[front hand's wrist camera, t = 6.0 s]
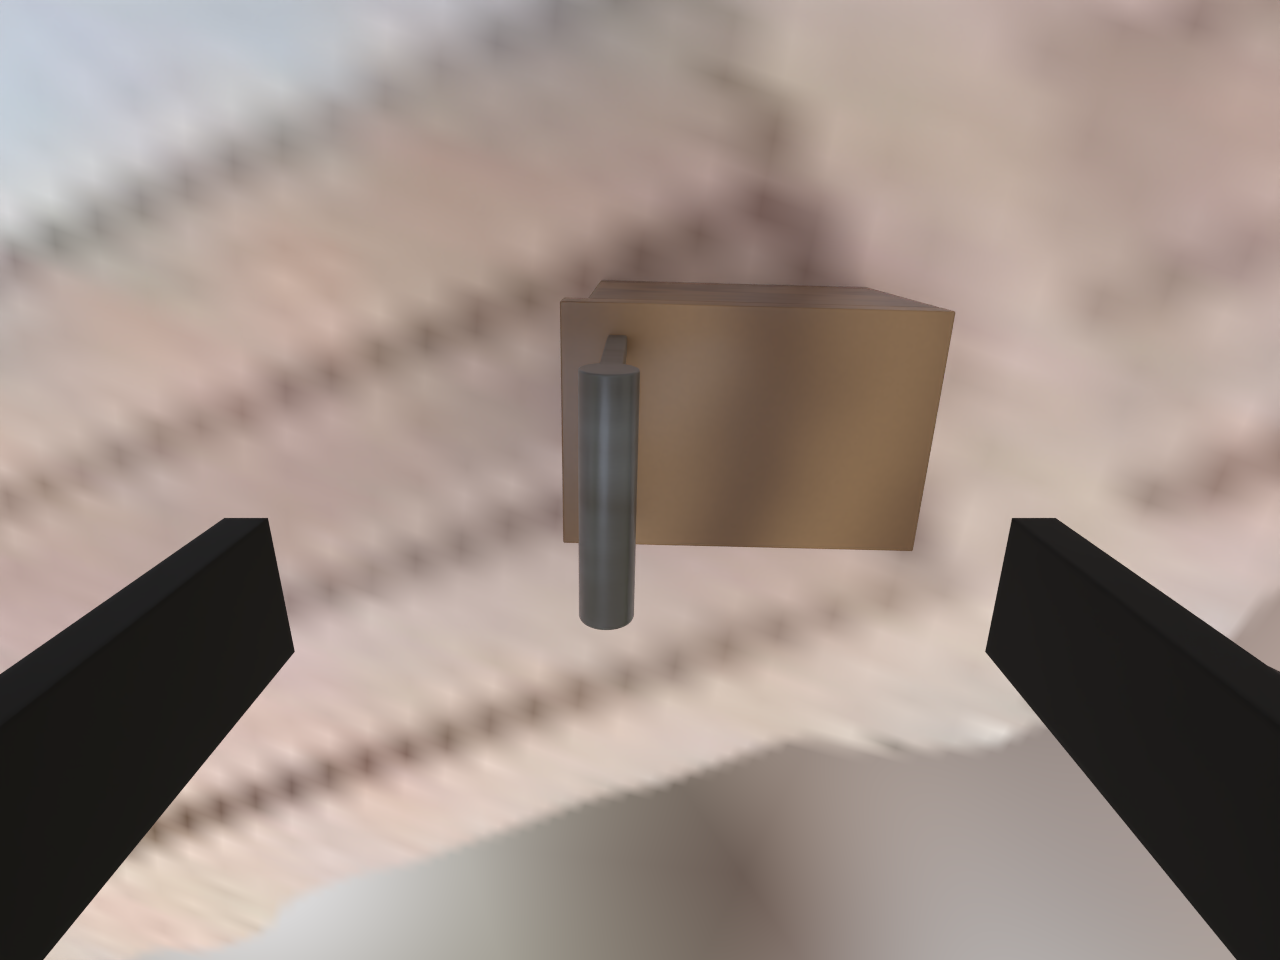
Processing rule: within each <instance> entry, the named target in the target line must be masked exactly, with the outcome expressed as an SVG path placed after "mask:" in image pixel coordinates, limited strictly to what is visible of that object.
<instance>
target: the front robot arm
mask: <svg viewBox="0 0 1280 960" xmlns="http://www.w3.org/2000/svg"><path fill="white" fill-rule="evenodd" d="M294 652H295V651H294V646H293V641H292V636H291V631H290V626H289V621H288V616H287V611H286V606H285V601H284V596H283V591H282V586H281V581H280V576H279V571H278V566H277V561H276V556H275V552H274V547H273V542H272V537H271V532H270V527H269V522H268V518H224V519H222V520H221V521H220V522H218V523H217V524H215V525H214V526H212V527H211V528H209V529H208V530H207V531H205V532H204V533H202V534H201V535H199V536H198V537H197V538H195V539H194V540H192V541H191V542H189V543H188V544H187V545H185V546H184V547H182V548H181V549H179V550H178V551H176V552H175V553H174V554H172V555H171V556H169V557H168V558H166V559H165V560H164V561H162V562H161V563H159V564H158V565H156V566H155V567H154V568H152V569H151V570H149V571H148V572H146V573H145V574H144V575H142V576H141V577H139V578H138V579H136V580H135V581H133V582H132V583H131V584H129V585H128V586H126V587H125V588H123V589H122V590H121V591H119V592H118V593H116V594H115V595H113V596H112V597H111V598H109V599H108V600H106V601H105V602H103V603H102V604H100V605H99V606H98V607H96V608H95V609H93V610H92V611H90V612H89V613H88V614H86V615H85V616H83V617H82V618H80V619H79V620H78V621H76V622H75V623H73V624H72V625H70V626H69V627H67V628H66V629H65V630H63V631H62V632H60V633H59V634H57V635H56V636H55V637H53V638H52V639H50V640H49V641H47V642H46V643H45V644H43V645H42V646H40V647H39V648H37V649H36V650H34V651H33V652H32V653H30V654H29V655H27V656H26V657H24V658H23V659H22V660H20V661H19V662H17V663H16V664H14V665H13V666H12V667H10V668H9V669H7V670H6V671H4V672H3V673H1V674H0V960H43V959H44V958H45V957H46V956H47V955H48V953H49V952H50V951H51V950H52V948H53V947H54V946H55V945H56V944H57V942H58V941H59V940H60V939H61V937H62V936H63V935H64V934H65V933H66V931H67V930H68V929H69V928H70V926H71V925H72V924H73V923H74V921H75V920H76V919H77V918H78V917H79V915H80V914H81V913H82V912H83V910H84V909H85V908H86V907H87V906H88V904H89V903H90V902H91V901H92V899H93V898H94V897H95V896H96V895H97V893H98V892H99V891H100V890H101V888H102V887H103V886H104V885H105V883H106V882H107V881H108V880H109V879H110V877H111V876H112V875H113V874H114V872H115V871H116V870H117V869H118V868H119V866H120V865H121V864H122V863H123V861H124V860H125V859H126V858H127V857H128V855H129V854H130V853H131V852H132V850H133V849H134V848H135V847H136V845H137V844H138V843H139V842H140V841H141V839H142V838H143V837H144V836H145V834H146V833H147V832H148V831H149V830H150V828H151V827H152V826H153V825H154V823H155V822H156V821H157V820H158V819H159V817H160V816H161V815H162V814H163V812H164V811H165V810H166V809H167V808H168V806H169V805H170V804H171V803H172V801H173V800H174V799H175V798H176V796H177V795H178V794H179V793H180V792H181V790H182V789H183V788H184V787H185V785H186V784H187V783H188V782H189V781H190V779H191V778H192V777H193V776H194V774H195V773H196V772H197V771H198V770H199V768H200V767H201V766H202V765H203V763H204V762H205V761H206V760H207V758H208V757H209V756H210V755H211V754H212V752H213V751H214V750H215V749H216V747H217V746H218V745H219V744H220V743H221V741H222V740H223V739H224V738H225V736H226V735H227V734H228V733H229V732H230V730H231V729H232V728H233V727H234V725H235V724H236V723H237V722H238V720H239V719H240V718H241V717H242V716H243V714H244V713H245V712H246V711H247V709H248V708H249V707H250V706H251V705H252V703H253V702H254V701H255V700H256V698H257V697H258V696H259V695H260V694H261V692H262V691H263V690H264V689H265V687H266V686H267V685H268V684H269V682H270V681H271V680H272V679H273V678H274V676H275V675H276V674H277V673H278V671H279V670H280V669H281V668H282V667H283V665H284V664H285V663H286V662H287V660H288V659H289V658H290V657H291V656H292V654H293V653H294ZM985 652H986V653H987V654H988V656H989V657H990V658H991V659H992V660H993V662H994V663H995V664H996V665H997V667H998V668H999V669H1000V670H1001V671H1002V673H1003V674H1004V675H1005V676H1006V678H1007V679H1008V680H1009V681H1010V682H1011V684H1012V685H1013V686H1014V687H1015V689H1016V690H1017V691H1018V692H1019V694H1020V695H1021V696H1022V697H1023V698H1024V700H1025V701H1026V702H1027V703H1028V705H1029V706H1030V707H1031V708H1032V709H1033V711H1034V712H1035V713H1036V714H1037V716H1038V717H1039V718H1040V719H1041V720H1042V722H1043V723H1044V724H1045V725H1046V727H1047V728H1048V729H1049V730H1050V732H1051V733H1052V734H1053V735H1054V736H1055V738H1056V739H1057V740H1058V741H1059V743H1060V744H1061V745H1062V746H1063V747H1064V749H1065V750H1066V751H1067V752H1068V753H1069V755H1070V756H1071V757H1072V758H1073V760H1074V761H1075V762H1076V763H1077V765H1078V766H1079V767H1080V768H1081V769H1082V771H1083V772H1084V773H1085V774H1086V776H1087V777H1088V778H1089V779H1090V781H1091V782H1092V783H1093V784H1094V785H1095V787H1096V788H1097V789H1098V790H1099V792H1100V793H1101V794H1102V795H1103V796H1104V798H1105V799H1106V800H1107V801H1108V803H1109V804H1110V805H1111V806H1112V808H1113V809H1114V810H1115V811H1116V812H1117V814H1118V815H1119V816H1120V817H1121V818H1122V820H1123V821H1124V822H1125V823H1126V825H1127V826H1128V827H1129V828H1130V830H1131V831H1132V832H1133V833H1134V834H1135V836H1136V837H1137V838H1138V839H1139V841H1140V842H1141V843H1142V844H1143V845H1144V847H1145V848H1146V849H1147V850H1148V852H1149V853H1150V854H1151V855H1152V857H1153V858H1154V859H1155V860H1156V861H1157V863H1158V864H1159V865H1160V866H1161V868H1162V869H1163V870H1164V871H1165V872H1166V874H1167V875H1168V876H1169V877H1170V879H1171V880H1172V881H1173V882H1174V883H1175V885H1176V886H1177V887H1178V888H1179V890H1180V891H1181V892H1182V893H1183V894H1184V896H1185V897H1186V898H1187V899H1188V901H1189V902H1190V903H1191V904H1192V906H1193V907H1194V908H1195V909H1196V910H1197V912H1198V913H1199V914H1200V915H1201V917H1202V918H1203V919H1204V920H1205V921H1206V923H1207V924H1208V925H1209V926H1210V928H1211V929H1212V930H1213V931H1214V933H1215V934H1216V935H1217V936H1218V937H1219V939H1220V940H1221V941H1222V942H1223V944H1224V945H1225V946H1226V947H1227V948H1228V950H1229V951H1230V952H1231V953H1232V955H1233V956H1234V957H1235V958H1236V959H1237V960H1280V672H1279V671H1277V670H1275V669H1273V668H1271V667H1269V666H1267V665H1266V664H1264V663H1263V662H1261V661H1260V660H1258V659H1257V658H1256V657H1254V656H1253V655H1251V654H1250V653H1248V652H1247V651H1245V650H1244V649H1243V648H1241V647H1240V646H1238V645H1237V644H1235V643H1234V642H1233V641H1231V640H1230V639H1228V638H1227V637H1225V636H1224V635H1223V634H1221V633H1220V632H1218V631H1217V630H1215V629H1214V628H1213V627H1211V626H1210V625H1208V624H1207V623H1205V622H1204V621H1202V620H1201V619H1200V618H1198V617H1197V616H1195V615H1194V614H1192V613H1191V612H1190V611H1188V610H1187V609H1185V608H1184V607H1182V606H1181V605H1180V604H1178V603H1177V602H1175V601H1174V600H1172V599H1171V598H1169V597H1168V596H1167V595H1165V594H1164V593H1162V592H1161V591H1159V590H1158V589H1157V588H1155V587H1154V586H1152V585H1151V584H1149V583H1148V582H1147V581H1145V580H1144V579H1142V578H1141V577H1139V576H1138V575H1136V574H1135V573H1134V572H1132V571H1131V570H1129V569H1128V568H1126V567H1125V566H1124V565H1122V564H1121V563H1119V562H1118V561H1116V560H1115V559H1114V558H1112V557H1111V556H1109V555H1108V554H1106V553H1105V552H1104V551H1102V550H1101V549H1099V548H1098V547H1096V546H1095V545H1093V544H1092V543H1091V542H1089V541H1088V540H1086V539H1085V538H1083V537H1082V536H1081V535H1079V534H1078V533H1076V532H1075V531H1073V530H1072V529H1071V528H1069V527H1068V526H1066V525H1065V524H1063V523H1062V522H1060V521H1059V520H1058V519H1056V518H1012V522H1011V527H1010V532H1009V537H1008V542H1007V547H1006V552H1005V556H1004V561H1003V566H1002V571H1001V576H1000V581H999V586H998V591H997V596H996V601H995V606H994V611H993V616H992V621H991V626H990V631H989V636H988V641H987V646H986V651H985Z"/></svg>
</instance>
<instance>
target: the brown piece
mask: <svg viewBox="0 0 1280 960" xmlns="http://www.w3.org/2000/svg"><path fill="white" fill-rule="evenodd" d="M954 317H955V312H954V311H951V310H947V309H944V308H928V307H891V306H853V305H816V304H778V303H741V302H704V301H666V300H629V299H591V298H564V299H562V300H561V302H560V329H561V401H562V474H563V541H564V542H565V543H579V617H580V619H581V621H582V622H583V623H584V624H585V625H587V626H589V627H592V628H595V629H600V630H613V629H618V628H621V627H624V626H626V625H627V624H629V623H630V622H631V621H632V619H633V617H634V587H635V548H636V544H647V545H689V546H730V547H772V548H814V549H855V550H897V551H912V550H913V545H914V539H915V534H916V528H917V523H918V517H919V512H920V506H921V500H922V495H923V489H924V484H925V478H926V473H927V467H928V462H929V456H930V450H931V445H932V439H933V434H934V428H935V423H936V417H937V411H938V406H939V400H940V395H941V389H942V384H943V378H944V373H945V367H946V361H947V356H948V350H949V345H950V339H951V334H952V328H953V322H954Z"/></svg>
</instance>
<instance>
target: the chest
mask: <svg viewBox="0 0 1280 960" xmlns="http://www.w3.org/2000/svg"><path fill="white" fill-rule="evenodd" d="M589 298H591V299H629V300H666V301H704V302H741V303H778V304H816V305H853V306H891V307H928V308H939V307H936V306H932V305H928V304H925V303H921V302H917V301H914V300H910V299H906V298H903V297H899V296H895V295H892V294H888V293H884V292H881V291H877V290H873V289H870V288H862V287H825V286H788V285H750V284H713V283H676V282H639V281H601V282H600V283H599V284H598V286H597V287H596V289H595V290H594V291H593V293H592V294H591V296H590V297H589Z"/></svg>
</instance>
